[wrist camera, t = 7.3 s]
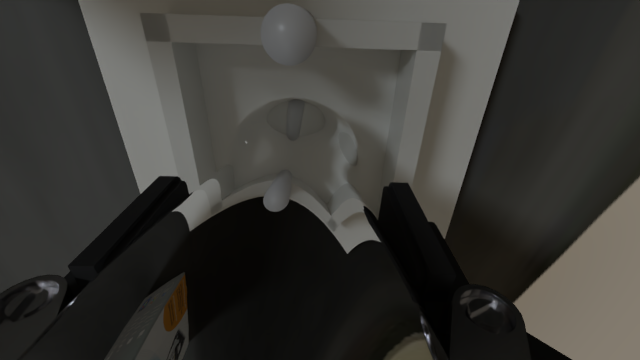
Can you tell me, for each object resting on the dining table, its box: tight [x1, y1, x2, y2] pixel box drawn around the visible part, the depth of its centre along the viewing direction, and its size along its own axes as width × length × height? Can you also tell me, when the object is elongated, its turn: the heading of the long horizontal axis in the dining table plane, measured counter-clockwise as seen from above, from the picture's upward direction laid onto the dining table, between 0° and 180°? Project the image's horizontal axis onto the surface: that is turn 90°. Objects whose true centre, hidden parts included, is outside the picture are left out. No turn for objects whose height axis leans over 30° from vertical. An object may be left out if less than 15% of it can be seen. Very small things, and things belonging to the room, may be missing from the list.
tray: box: [78, 0, 519, 239], centre depth 15 cm, size 20×14×6 cm
